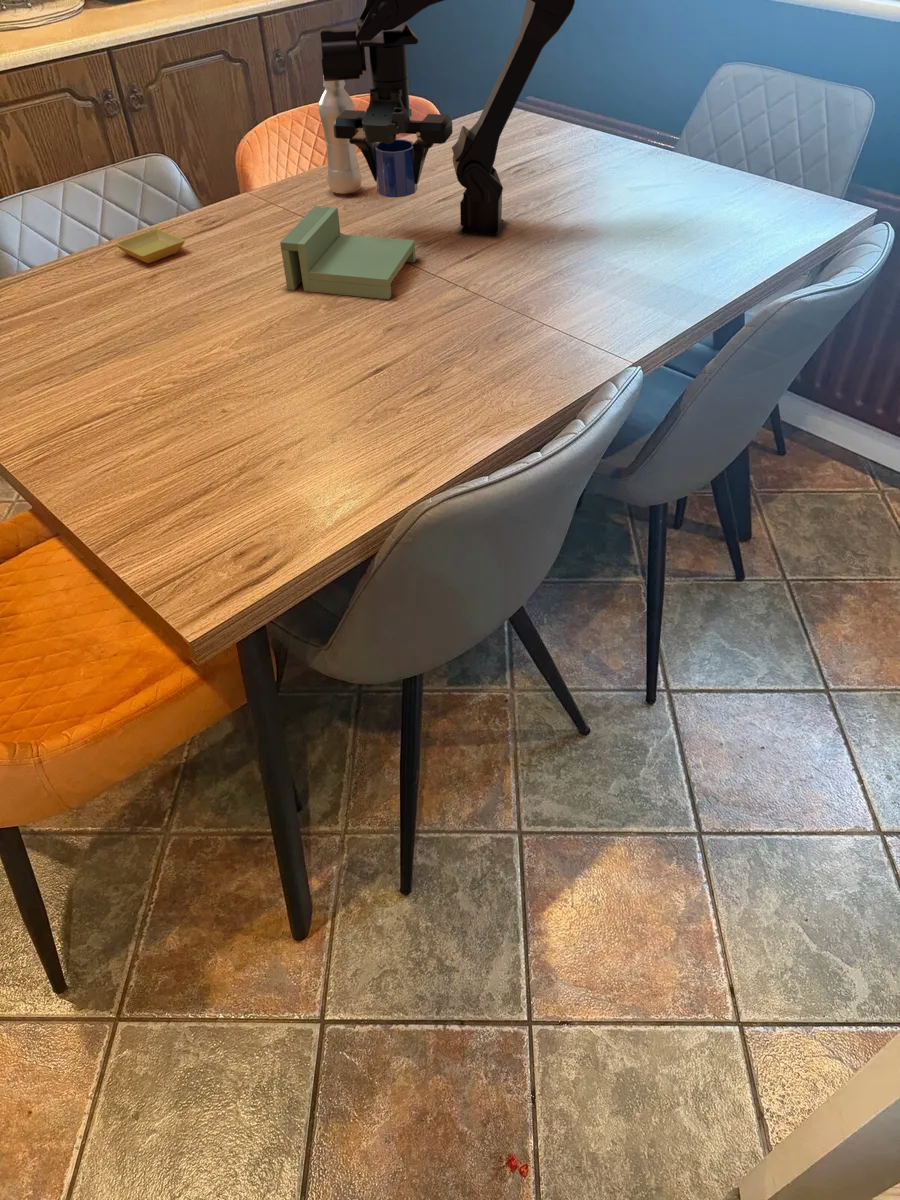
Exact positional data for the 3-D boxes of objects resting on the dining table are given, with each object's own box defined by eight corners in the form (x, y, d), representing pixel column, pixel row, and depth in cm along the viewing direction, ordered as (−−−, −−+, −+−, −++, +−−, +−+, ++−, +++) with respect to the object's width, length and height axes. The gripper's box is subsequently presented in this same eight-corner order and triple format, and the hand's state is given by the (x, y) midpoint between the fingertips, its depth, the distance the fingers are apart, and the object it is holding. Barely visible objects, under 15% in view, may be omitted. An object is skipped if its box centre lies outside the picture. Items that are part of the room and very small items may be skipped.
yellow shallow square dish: (117, 254, 147) (113, 242, 146) (160, 239, 152) (157, 227, 150) (145, 268, 143) (142, 256, 142) (188, 252, 147) (185, 240, 146)
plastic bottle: (357, 198, 163) (346, 79, 149) (323, 197, 164) (309, 78, 150) (366, 186, 168) (356, 69, 154) (333, 184, 169) (320, 68, 155)
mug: (421, 184, 148) (419, 140, 143) (406, 204, 142) (403, 158, 137) (384, 181, 149) (381, 138, 144) (368, 201, 143) (363, 156, 138)
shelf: (415, 259, 144) (413, 213, 138) (389, 299, 133) (385, 251, 128) (320, 250, 147) (314, 205, 141) (287, 289, 137) (279, 242, 131)
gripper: (315, 89, 131) (328, 196, 142) (433, 94, 127) (437, 203, 138) (340, 70, 138) (350, 172, 149) (452, 74, 135) (454, 179, 146)
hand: (396, 182), depth 145 cm, fingers closed on mug, 7 cm apart
